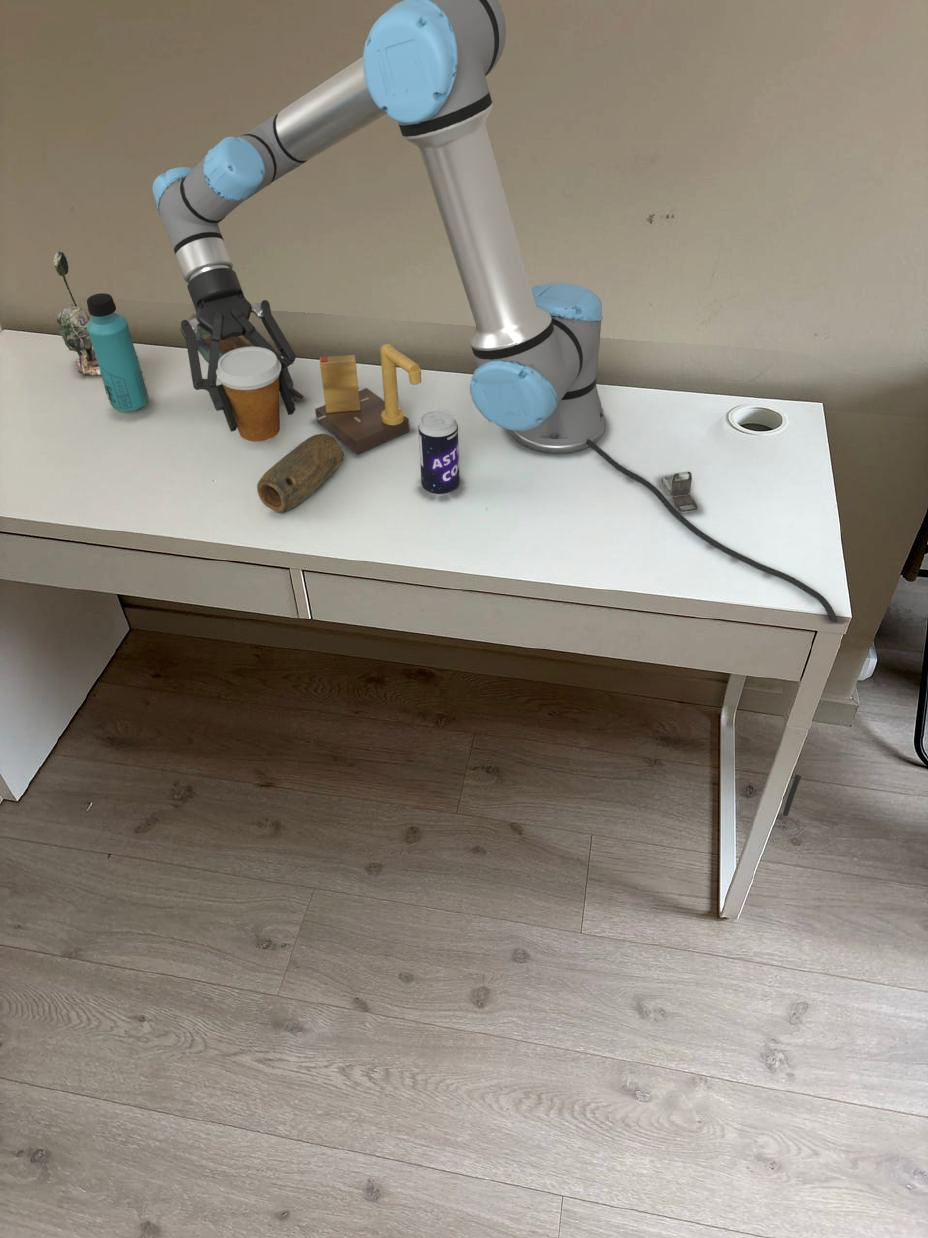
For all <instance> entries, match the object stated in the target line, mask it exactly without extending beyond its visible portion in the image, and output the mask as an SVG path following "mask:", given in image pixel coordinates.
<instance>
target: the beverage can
mask: <svg viewBox="0 0 928 1238" xmlns="http://www.w3.org/2000/svg"><path fill="white" fill-rule="evenodd" d="M417 428H418V429H417V430H418V431H417V432H418V445H419V446H418V447H419V464H420V465H419V466H420V478H421V479H420V481H421V487H422V488H423V490H425V491H426V492H428V493H429V494H431V495H433V496H439V497H442V496H443V497H444V496H448V495H450V494H452V493H453V492H454V491H455V490H456V489H457V488H458V487H459V486H460V451H459V425H458V422H457V421H456V417H455V415H454V414H453V413H452V412H450V411H448V410H445V409H433V410H429V411H427V412H425V413H423V415H422V416H421V417H420V422H419V424H418V427H417Z"/></svg>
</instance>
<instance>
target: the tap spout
mask: <svg viewBox="0 0 928 1238" xmlns="http://www.w3.org/2000/svg"><path fill="white" fill-rule="evenodd" d="M379 352H380V354H379V355H380V364H381V376H382V387H383V398H384V399H383V400H384V401H385V410H384V411H383V412H382V413H381V418H382V422H383V423H385V424H387V425H397V424H400V423H402V422H403V420H404V416H405V412H404V410H402V409H401V408H400V402H399V389H398V387H399V386H398V376H397V367H399V368H401V369H402V370H403V371H405V372H406V373H408V381H409V384H410V385H413V386H414V385H415V386H416V385H420V384H422V369H421V367H420V365H419V364H418V363H417V362H415V361H414V360H412V359H411V358H409V357H408V356H407V355H405V354H403V353H402V352H401V351H399V350H398V349H396V348H395V347H394V346H393V345H392V344H391V343H384V344H382V345H381V347H380V350H379Z"/></svg>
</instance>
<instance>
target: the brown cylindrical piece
mask: <svg viewBox="0 0 928 1238" xmlns="http://www.w3.org/2000/svg"><path fill="white" fill-rule="evenodd" d="M344 457H345V454H344V452H343V448H342V447H341V445H340V443H338V441H337V440H336V439H335V438H334V437H333V435H332V436H331V435H329V434H326V433H318V434H313V435H312V436H309V437H308V438H306V439H305V440H304V441H301V443H299V444H298V445H297V446H296V447H294V448H292V450H291V451H289V452H288V453H287V454H286V455H285V456H283V457H282V458H281V459H280V460H278V461H277V462H276V463H275V464H273V465H272V466H271V467H270V468H269V469H267V471H266V472H265V473H264V474H263V475H262V477H260V479H259V480H258V483H256V492H257V494H258V497H259V499H260V500H261V503H263V504H264V505H265V506H266V507H267V508H269V509H271V510H273V511H274V512H277V513H279V514H281V513H285V512H287V511H289V510H291V509H292V508H294V507H296V506H297V505H299V504H300V503H302V502H303V501H304V500H306V499H307V498H308V497H309V496H310V495H311V494H313V493H314V492H315V491H317V489H318V488H319V487H321V486H322V485H323V484H324V483H325V482H326V481H327V480H328V479H329V478H330V477H331V476H332V475H333V474H334V473H335V472H336V471H337V470H338V468H339V467H340V466H341V464H342V463H343V461H344Z"/></svg>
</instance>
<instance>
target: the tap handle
mask: <svg viewBox="0 0 928 1238" xmlns="http://www.w3.org/2000/svg"><path fill="white" fill-rule="evenodd" d="M319 366H320V374H321V381H322V390H323V398H324V405H325V406H326V413H333V412H344V411H356V410H361V408H360V398H359V391H360V389H359V381H358V379H359V378H358V370H357V361H356V355H355V354H347V355H335V356H334V355H333V356H328V355H322V356H320V357H319Z"/></svg>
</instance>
